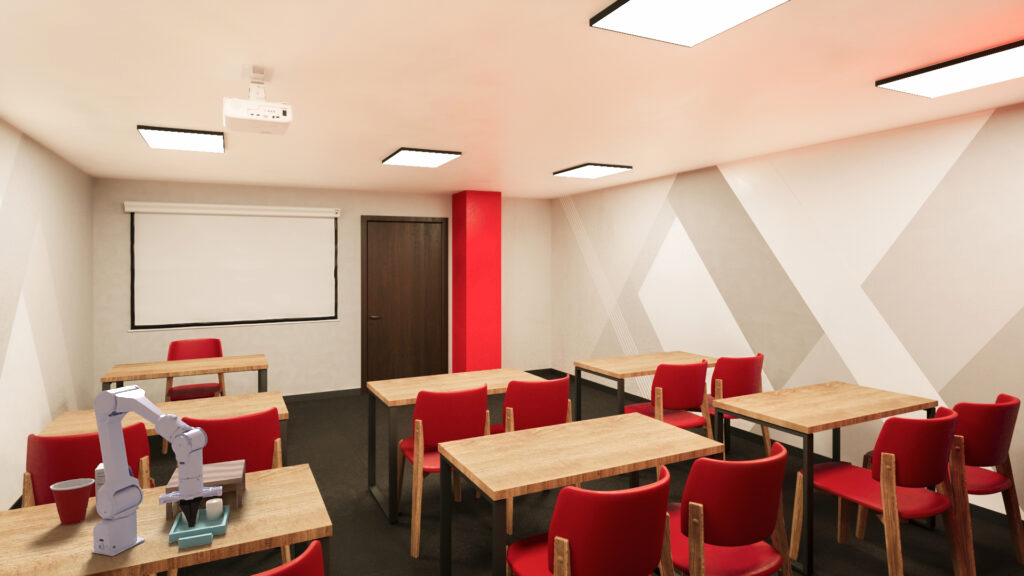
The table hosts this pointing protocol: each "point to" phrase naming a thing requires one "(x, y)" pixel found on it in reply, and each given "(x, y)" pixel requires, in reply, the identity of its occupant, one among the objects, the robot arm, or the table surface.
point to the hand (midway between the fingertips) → (192, 525)
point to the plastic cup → (72, 499)
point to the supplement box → (99, 478)
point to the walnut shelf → (215, 480)
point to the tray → (201, 525)
